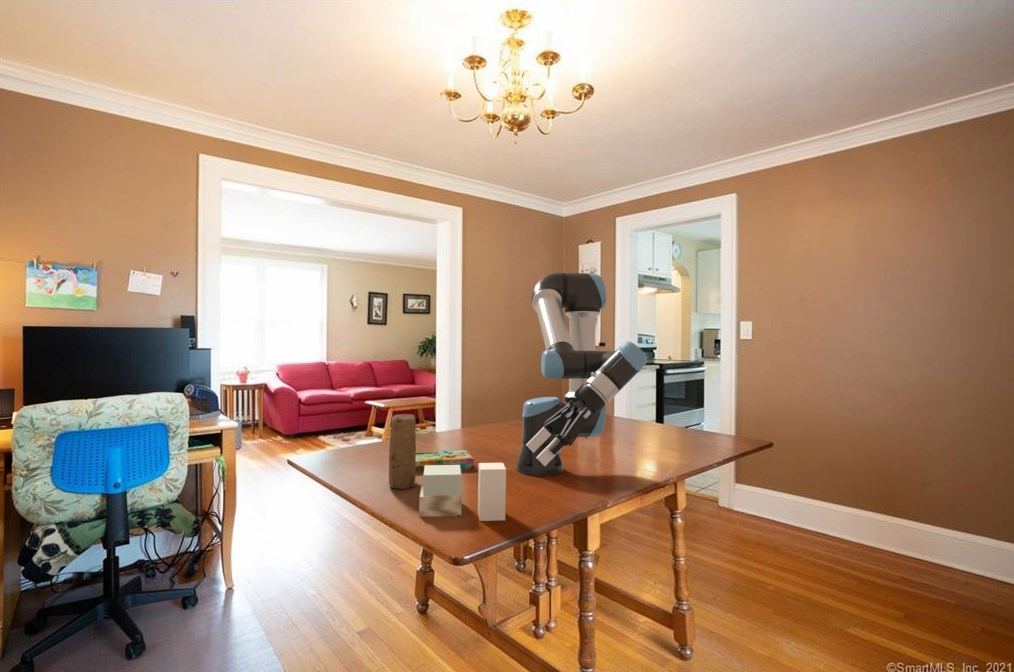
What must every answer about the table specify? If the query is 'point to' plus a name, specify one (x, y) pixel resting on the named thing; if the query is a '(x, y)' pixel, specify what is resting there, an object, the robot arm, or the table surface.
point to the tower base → (439, 505)
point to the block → (402, 452)
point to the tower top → (442, 480)
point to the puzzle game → (445, 459)
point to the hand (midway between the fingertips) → (534, 455)
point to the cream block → (491, 491)
